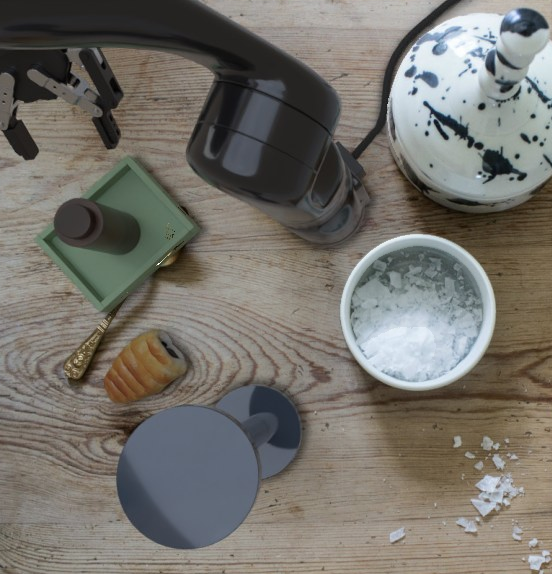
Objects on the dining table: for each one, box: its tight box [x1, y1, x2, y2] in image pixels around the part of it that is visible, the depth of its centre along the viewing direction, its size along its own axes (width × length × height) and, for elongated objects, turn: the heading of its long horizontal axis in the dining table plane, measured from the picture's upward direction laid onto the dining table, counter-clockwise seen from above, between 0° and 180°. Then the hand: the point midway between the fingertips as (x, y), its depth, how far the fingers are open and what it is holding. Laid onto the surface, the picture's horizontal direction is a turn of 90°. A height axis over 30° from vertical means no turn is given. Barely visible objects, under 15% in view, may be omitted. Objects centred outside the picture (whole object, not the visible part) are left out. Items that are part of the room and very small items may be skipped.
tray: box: [33, 154, 202, 313], centre depth 72 cm, size 15×12×2 cm
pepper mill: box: [53, 197, 141, 255], centre depth 68 cm, size 5×5×10 cm
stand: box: [115, 383, 303, 550], centre depth 62 cm, size 12×12×21 cm
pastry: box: [103, 328, 188, 405], centre depth 71 cm, size 9×7×4 cm
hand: (73, 151), depth 65 cm, fingers open, 8 cm apart
